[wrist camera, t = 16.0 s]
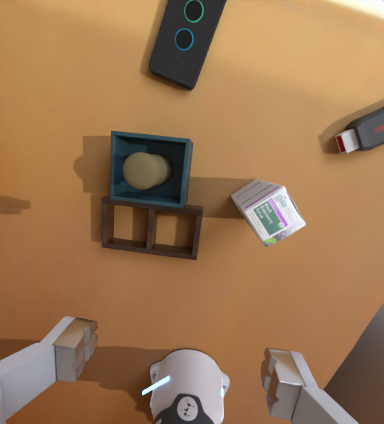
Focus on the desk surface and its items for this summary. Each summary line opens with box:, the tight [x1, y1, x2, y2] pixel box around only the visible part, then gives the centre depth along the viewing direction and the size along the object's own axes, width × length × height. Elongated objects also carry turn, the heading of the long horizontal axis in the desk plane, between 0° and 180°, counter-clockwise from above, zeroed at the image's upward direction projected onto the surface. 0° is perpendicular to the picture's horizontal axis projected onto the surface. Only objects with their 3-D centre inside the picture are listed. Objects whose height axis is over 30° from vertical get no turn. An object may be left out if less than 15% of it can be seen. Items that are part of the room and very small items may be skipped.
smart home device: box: [149, 0, 226, 90], centre depth 32 cm, size 8×2×20 cm
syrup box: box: [231, 179, 306, 247], centre depth 32 cm, size 6×6×14 cm
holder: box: [102, 196, 203, 260], centre depth 40 cm, size 10×19×3 cm, turn 84°
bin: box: [110, 131, 193, 208], centre depth 36 cm, size 11×12×7 cm
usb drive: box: [335, 107, 384, 154], centre depth 33 cm, size 5×12×3 cm, turn 115°
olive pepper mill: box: [123, 152, 173, 189], centre depth 33 cm, size 6×6×11 cm
